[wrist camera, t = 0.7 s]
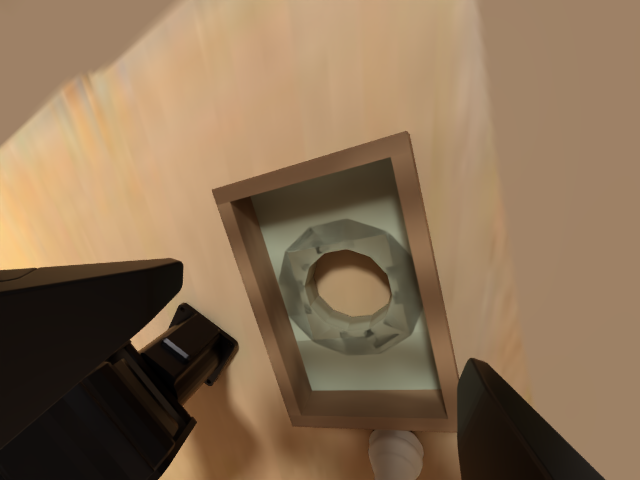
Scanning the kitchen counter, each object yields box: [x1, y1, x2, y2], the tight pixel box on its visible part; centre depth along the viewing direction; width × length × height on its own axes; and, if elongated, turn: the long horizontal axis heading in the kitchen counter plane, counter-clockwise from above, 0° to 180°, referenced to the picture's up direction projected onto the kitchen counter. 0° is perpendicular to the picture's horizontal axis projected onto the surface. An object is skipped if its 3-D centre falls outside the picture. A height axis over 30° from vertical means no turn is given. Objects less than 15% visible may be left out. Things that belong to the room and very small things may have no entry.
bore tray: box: [212, 131, 459, 433], centre depth 21 cm, size 18×12×4 cm, turn 16°
